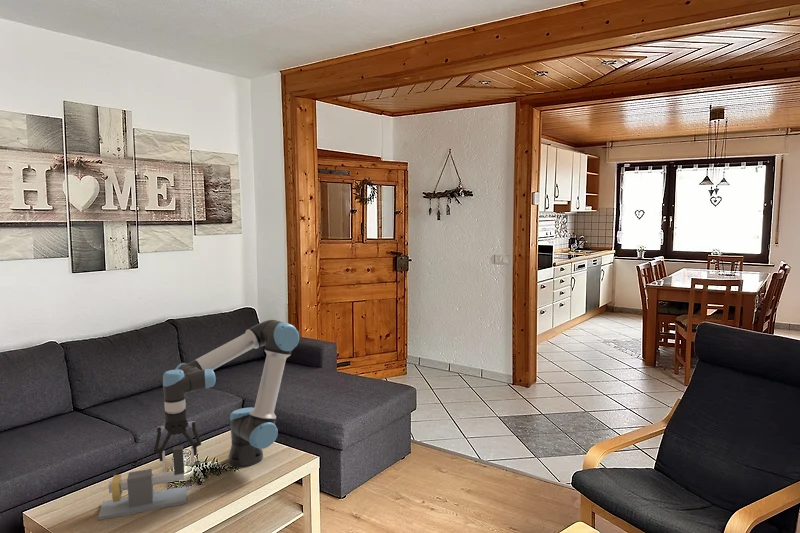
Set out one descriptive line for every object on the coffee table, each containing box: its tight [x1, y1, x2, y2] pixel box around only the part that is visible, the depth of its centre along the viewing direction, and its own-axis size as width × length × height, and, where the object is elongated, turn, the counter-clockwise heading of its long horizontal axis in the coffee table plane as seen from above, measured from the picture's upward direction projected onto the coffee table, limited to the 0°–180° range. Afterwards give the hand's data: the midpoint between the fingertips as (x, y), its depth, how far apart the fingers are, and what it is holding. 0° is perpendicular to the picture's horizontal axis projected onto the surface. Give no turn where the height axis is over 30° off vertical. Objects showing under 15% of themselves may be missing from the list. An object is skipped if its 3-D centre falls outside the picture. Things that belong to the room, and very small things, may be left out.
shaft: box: [108, 445, 185, 494], centre depth 209 cm, size 26×4×12 cm, turn 111°
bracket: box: [97, 468, 188, 521], centre depth 209 cm, size 30×12×12 cm, turn 111°
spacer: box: [111, 473, 123, 502], centre depth 206 cm, size 2×7×7 cm, turn 21°
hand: (179, 465), depth 213 cm, fingers open, 10 cm apart
